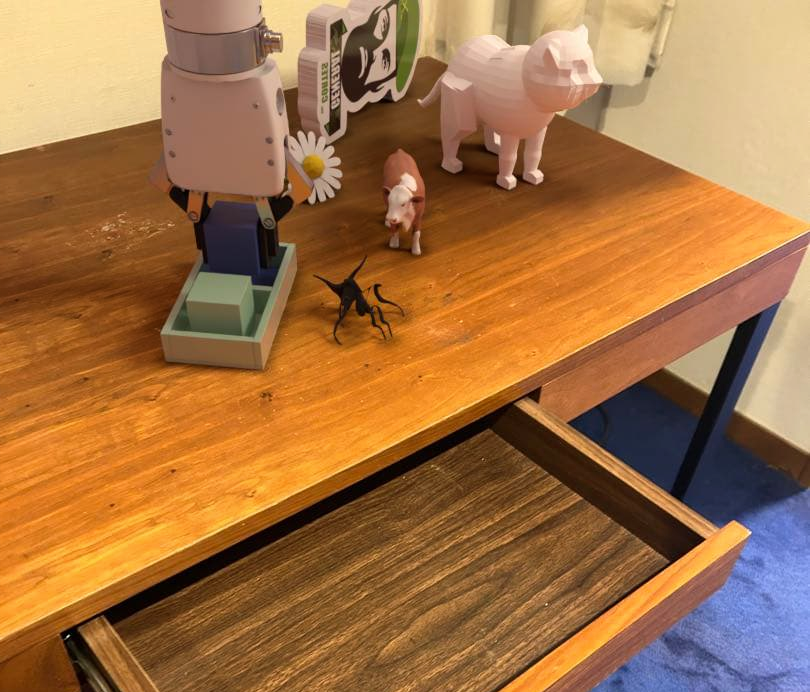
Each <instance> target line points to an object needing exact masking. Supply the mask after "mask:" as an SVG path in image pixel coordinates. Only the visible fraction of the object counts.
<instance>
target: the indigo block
mask: <svg viewBox="0 0 810 692" xmlns="http://www.w3.org/2000/svg"><path fill="white" fill-rule="evenodd" d="M210 208H211V210H210V212H209V214H208V216H207V218H206V220H205V222H204V224H203V227H204V234H205V242H206V249H207V256H208V263H209V270H210V271H212V272H223V273H234V274H245V275H256V276H259V274H260V271H261V269H262V267H261V266H260V256H259V245H258V234H257V230H258V227H259V225H260V216H259V213H258V210H257V207H256V204H255V203H253V202H241V201H231V200H230V201H229V200H217V199H215V201H214V203H213V204H212V206H211V207H210Z"/></svg>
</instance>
